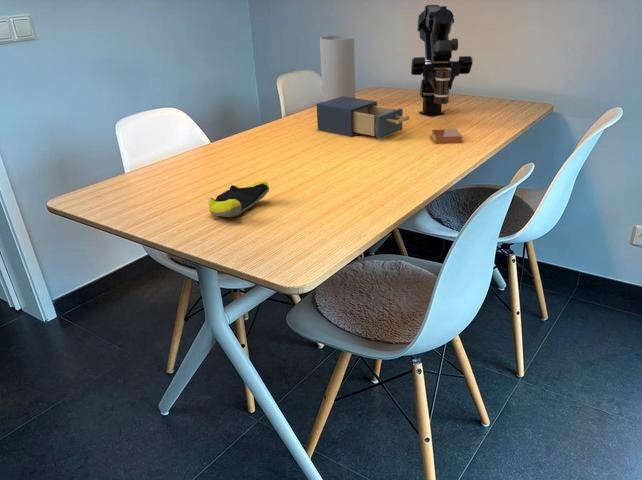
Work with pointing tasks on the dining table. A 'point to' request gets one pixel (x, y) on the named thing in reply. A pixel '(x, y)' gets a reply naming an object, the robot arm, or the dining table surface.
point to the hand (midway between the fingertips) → (442, 88)
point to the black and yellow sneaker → (237, 199)
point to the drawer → (378, 121)
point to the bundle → (442, 86)
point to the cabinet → (340, 114)
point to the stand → (446, 136)
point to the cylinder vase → (337, 66)
